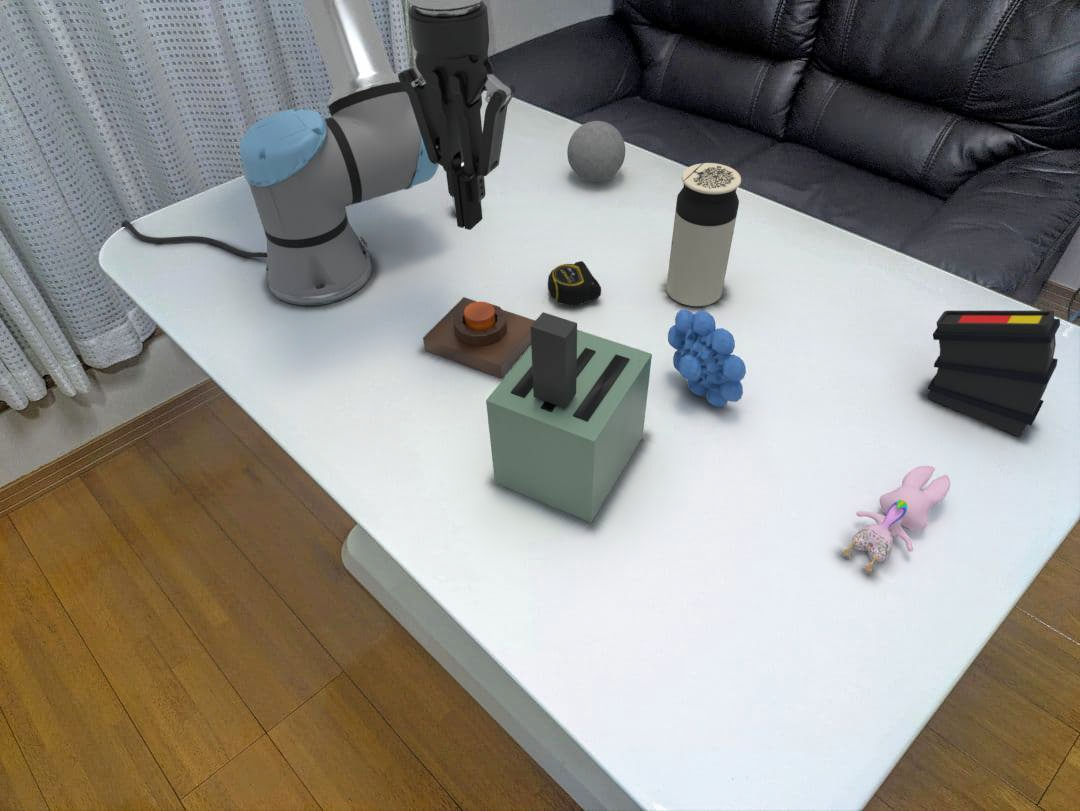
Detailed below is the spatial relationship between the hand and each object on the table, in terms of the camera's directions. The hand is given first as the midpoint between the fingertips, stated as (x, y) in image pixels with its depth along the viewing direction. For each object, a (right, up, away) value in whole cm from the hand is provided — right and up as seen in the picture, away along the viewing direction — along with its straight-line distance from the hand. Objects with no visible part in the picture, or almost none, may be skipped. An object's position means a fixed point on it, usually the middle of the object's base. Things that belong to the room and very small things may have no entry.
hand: (470, 222), depth 86 cm
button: (0, -10, +11) cm, 15 cm away
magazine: (+60, -22, +3) cm, 64 cm away
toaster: (+12, -28, -2) cm, 30 cm away
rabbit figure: (+45, -34, -9) cm, 58 cm away
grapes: (+27, -21, +5) cm, 35 cm away
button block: (0, -13, +13) cm, 18 cm away
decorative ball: (+18, +19, +44) cm, 51 cm away
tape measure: (+13, -5, +20) cm, 25 cm away
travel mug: (+30, -5, +20) cm, 37 cm away
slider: (+10, -21, -14) cm, 26 cm away
